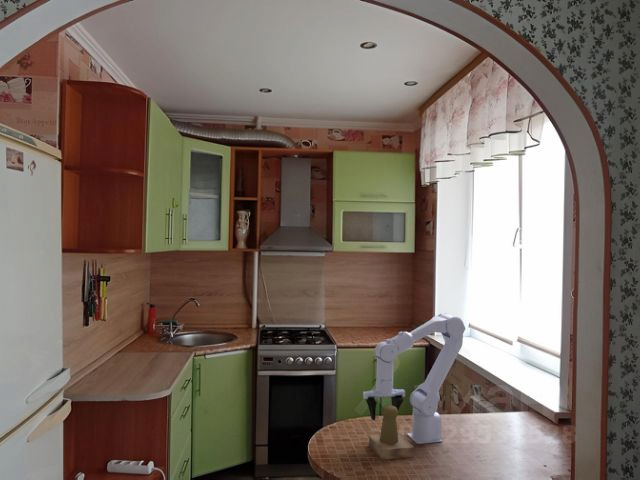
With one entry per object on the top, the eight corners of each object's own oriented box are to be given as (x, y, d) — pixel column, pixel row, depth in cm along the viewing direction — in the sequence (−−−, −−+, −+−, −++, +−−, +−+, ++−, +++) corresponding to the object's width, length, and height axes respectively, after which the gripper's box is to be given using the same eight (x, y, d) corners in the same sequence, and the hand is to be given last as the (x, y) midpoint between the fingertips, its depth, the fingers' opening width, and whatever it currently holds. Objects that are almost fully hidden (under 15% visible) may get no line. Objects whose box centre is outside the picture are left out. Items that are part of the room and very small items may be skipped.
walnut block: (399, 442, 163) (399, 433, 163) (413, 456, 152) (414, 447, 152) (369, 444, 160) (369, 435, 160) (381, 459, 149) (381, 450, 149)
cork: (398, 444, 153) (399, 410, 153) (379, 443, 154) (380, 408, 154) (398, 437, 159) (399, 404, 159) (380, 435, 160) (381, 402, 160)
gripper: (399, 374, 168) (398, 412, 168) (360, 376, 164) (359, 415, 164) (408, 379, 161) (407, 420, 161) (367, 382, 158) (366, 423, 158)
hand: (383, 418), depth 162 cm, fingers open, 7 cm apart
